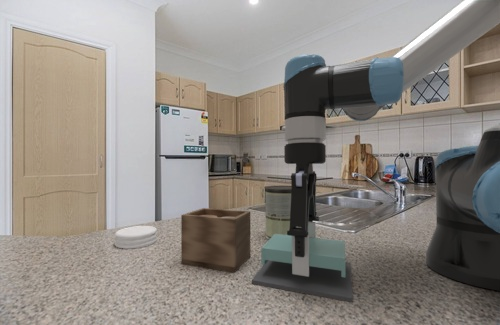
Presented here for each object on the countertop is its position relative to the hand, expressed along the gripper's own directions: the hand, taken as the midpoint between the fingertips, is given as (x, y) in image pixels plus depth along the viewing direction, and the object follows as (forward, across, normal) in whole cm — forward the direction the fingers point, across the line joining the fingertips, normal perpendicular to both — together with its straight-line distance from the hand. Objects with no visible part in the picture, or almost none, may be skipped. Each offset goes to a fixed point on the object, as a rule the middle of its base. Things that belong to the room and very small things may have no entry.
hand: (305, 262), depth 45 cm
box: (+2, 0, -18) cm, 19 cm away
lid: (-1, 0, 0) cm, 1 cm away
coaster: (+2, -3, -44) cm, 44 cm away
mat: (+2, 0, 0) cm, 2 cm away
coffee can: (+2, -21, -9) cm, 23 cm away
